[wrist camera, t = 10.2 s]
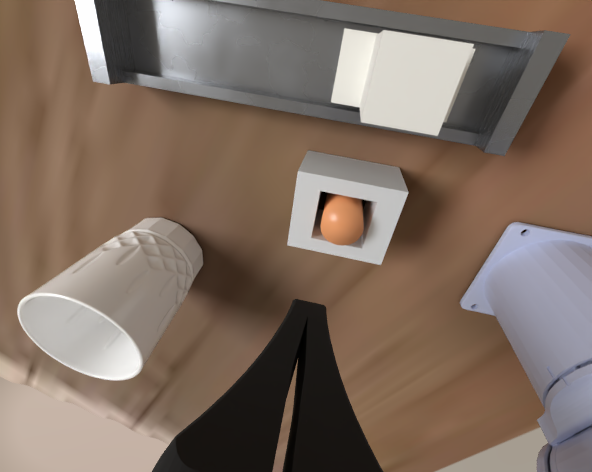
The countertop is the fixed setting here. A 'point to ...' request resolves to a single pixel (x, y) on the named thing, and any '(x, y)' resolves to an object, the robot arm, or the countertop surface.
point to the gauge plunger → (342, 219)
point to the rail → (307, 57)
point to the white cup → (115, 300)
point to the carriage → (400, 78)
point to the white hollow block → (353, 183)
